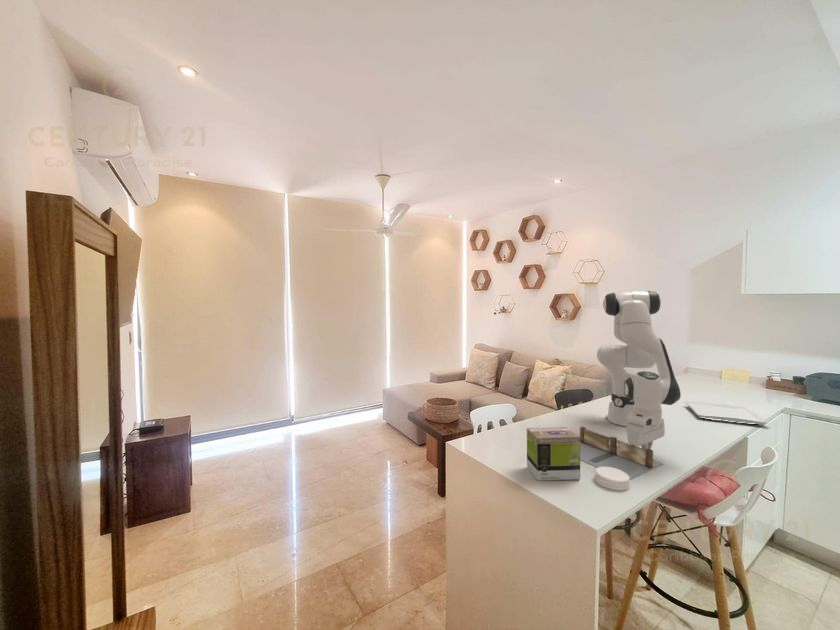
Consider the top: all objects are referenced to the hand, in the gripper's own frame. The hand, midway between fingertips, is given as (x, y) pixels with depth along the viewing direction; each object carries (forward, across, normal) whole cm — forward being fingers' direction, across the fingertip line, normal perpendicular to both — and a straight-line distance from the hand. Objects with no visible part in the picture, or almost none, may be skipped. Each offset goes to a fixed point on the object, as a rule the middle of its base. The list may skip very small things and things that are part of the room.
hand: (646, 452), depth 126 cm
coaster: (+4, +26, +2) cm, 26 cm away
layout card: (+4, +8, -10) cm, 13 cm away
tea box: (+4, +38, -12) cm, 40 cm away
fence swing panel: (+3, +4, -2) cm, 6 cm away
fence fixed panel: (+4, +4, -17) cm, 18 cm away
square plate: (+4, -94, -7) cm, 94 cm away
